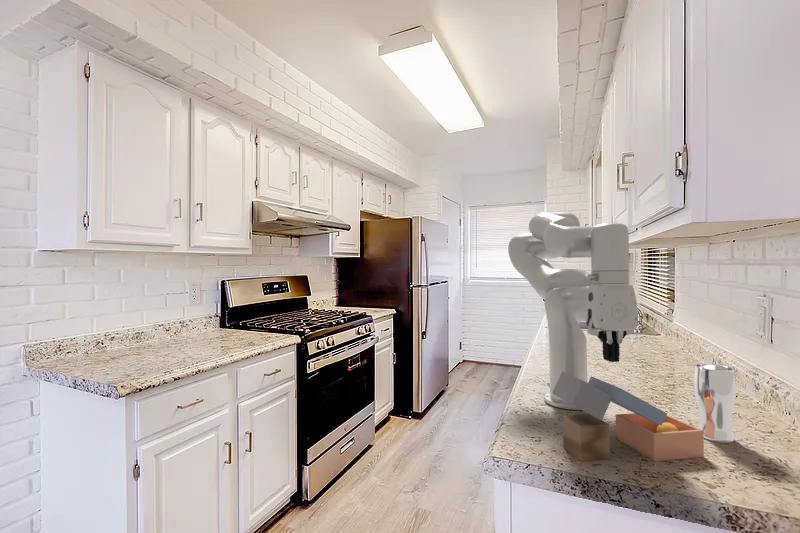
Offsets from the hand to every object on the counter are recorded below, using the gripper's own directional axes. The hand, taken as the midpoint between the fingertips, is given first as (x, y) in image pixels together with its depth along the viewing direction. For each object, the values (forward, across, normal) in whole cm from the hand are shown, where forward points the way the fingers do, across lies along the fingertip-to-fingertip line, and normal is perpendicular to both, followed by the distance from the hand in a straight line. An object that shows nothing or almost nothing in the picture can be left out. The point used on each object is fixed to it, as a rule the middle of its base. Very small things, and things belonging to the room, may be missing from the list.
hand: (611, 360), depth 89 cm
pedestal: (+16, -12, -9) cm, 22 cm away
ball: (+13, +6, -9) cm, 17 cm away
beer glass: (+16, +19, -7) cm, 26 cm away
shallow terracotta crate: (+16, +4, -9) cm, 18 cm away
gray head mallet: (+9, -9, -6) cm, 14 cm away
